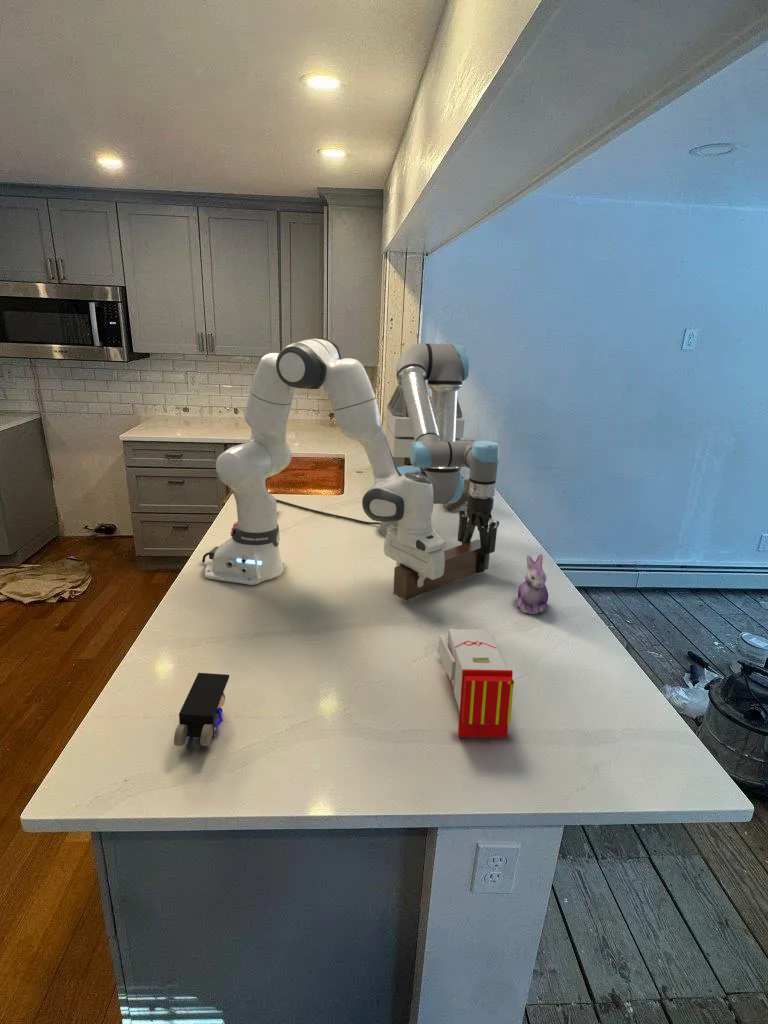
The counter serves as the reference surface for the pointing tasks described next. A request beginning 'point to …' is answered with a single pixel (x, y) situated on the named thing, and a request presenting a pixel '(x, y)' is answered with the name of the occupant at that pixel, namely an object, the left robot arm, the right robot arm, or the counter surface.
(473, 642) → the toy
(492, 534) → the right robot arm
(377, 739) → the counter surface
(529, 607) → the figurine
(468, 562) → the plank
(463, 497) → the fossil
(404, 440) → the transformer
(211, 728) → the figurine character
